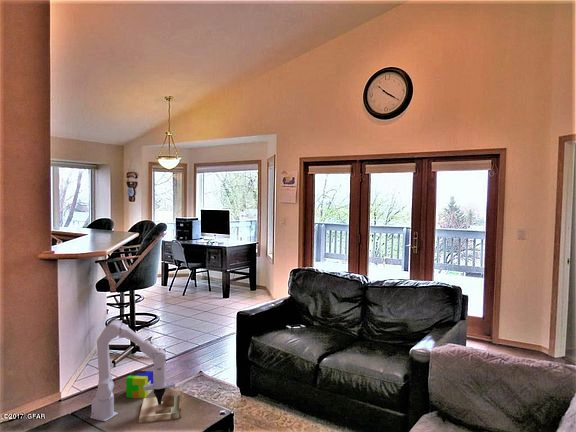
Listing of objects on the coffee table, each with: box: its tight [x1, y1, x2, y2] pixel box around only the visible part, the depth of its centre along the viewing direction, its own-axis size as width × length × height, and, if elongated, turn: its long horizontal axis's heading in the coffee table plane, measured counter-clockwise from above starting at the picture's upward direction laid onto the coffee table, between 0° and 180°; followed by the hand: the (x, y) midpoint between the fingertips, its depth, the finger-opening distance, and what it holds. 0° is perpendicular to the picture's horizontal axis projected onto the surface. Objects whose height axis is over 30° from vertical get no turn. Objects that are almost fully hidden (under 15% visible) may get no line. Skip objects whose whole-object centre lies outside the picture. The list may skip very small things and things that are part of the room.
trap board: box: [138, 390, 183, 423], centre depth 194 cm, size 18×19×4 cm
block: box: [163, 391, 176, 407], centre depth 195 cm, size 5×5×5 cm
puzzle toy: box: [125, 370, 154, 399], centre depth 212 cm, size 10×10×10 cm
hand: (159, 403), depth 194 cm, fingers closed
